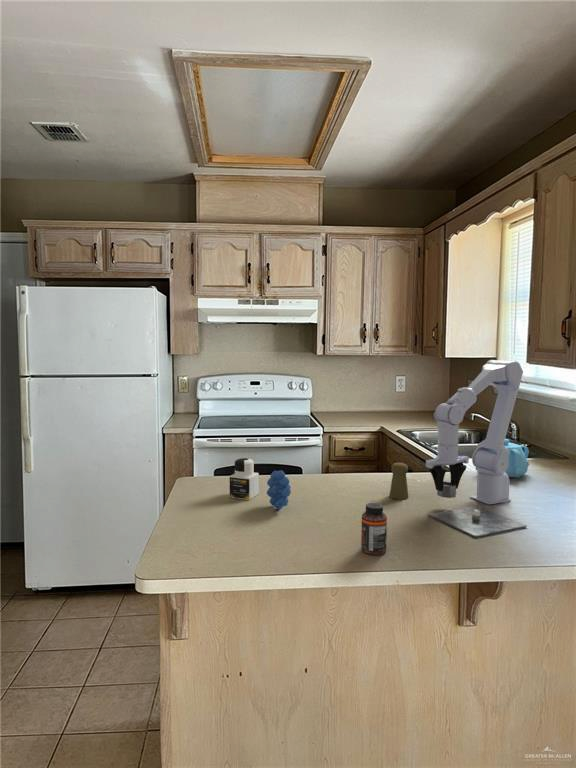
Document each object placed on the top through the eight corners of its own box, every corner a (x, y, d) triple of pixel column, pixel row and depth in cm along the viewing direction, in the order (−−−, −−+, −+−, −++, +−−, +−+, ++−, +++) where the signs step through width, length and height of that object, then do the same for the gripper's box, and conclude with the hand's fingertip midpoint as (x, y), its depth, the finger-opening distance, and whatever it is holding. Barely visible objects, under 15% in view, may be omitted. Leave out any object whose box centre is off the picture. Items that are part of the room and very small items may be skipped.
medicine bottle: (229, 497, 162) (228, 460, 161) (239, 491, 169) (239, 456, 168) (249, 500, 160) (249, 462, 159) (259, 494, 166) (259, 458, 165)
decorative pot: (472, 475, 191) (473, 439, 189) (491, 467, 202) (492, 433, 200) (516, 484, 179) (518, 445, 178) (534, 475, 190) (535, 439, 189)
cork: (408, 500, 160) (409, 466, 159) (389, 499, 161) (389, 465, 160) (408, 494, 166) (409, 461, 165) (389, 493, 167) (390, 460, 166)
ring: (447, 491, 155) (447, 480, 155) (459, 496, 151) (460, 485, 150) (433, 493, 153) (434, 482, 153) (445, 498, 149) (446, 486, 148)
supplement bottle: (358, 546, 125) (359, 501, 124) (382, 545, 125) (383, 500, 124) (364, 556, 119) (365, 509, 118) (389, 555, 119) (390, 508, 118)
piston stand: (476, 507, 153) (476, 497, 153) (526, 527, 137) (526, 516, 137) (428, 515, 146) (428, 505, 146) (475, 538, 130) (475, 526, 129)
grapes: (301, 512, 149) (301, 471, 148) (281, 516, 145) (281, 475, 144) (281, 501, 159) (281, 463, 158) (262, 505, 155) (261, 466, 154)
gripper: (457, 439, 157) (456, 482, 159) (419, 443, 151) (418, 488, 153) (474, 443, 151) (472, 488, 152) (435, 448, 145) (434, 495, 146)
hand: (446, 489), depth 152 cm, fingers closed on ring, 5 cm apart
